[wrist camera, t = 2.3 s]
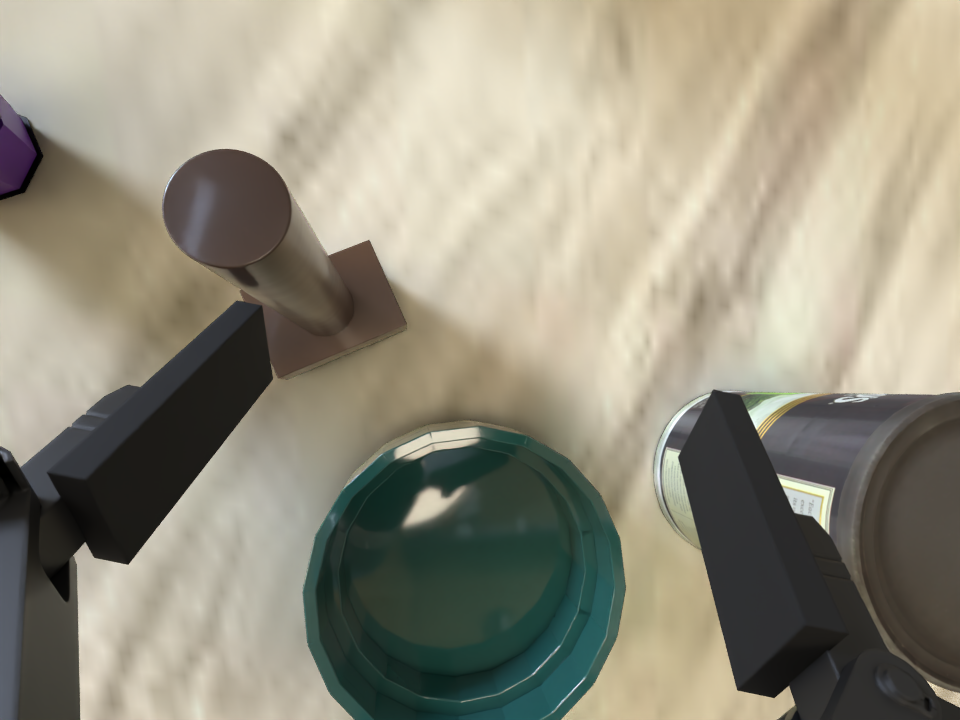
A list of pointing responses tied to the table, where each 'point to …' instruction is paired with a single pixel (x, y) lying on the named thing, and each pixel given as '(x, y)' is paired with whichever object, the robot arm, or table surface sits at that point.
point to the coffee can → (863, 502)
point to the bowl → (464, 580)
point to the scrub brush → (278, 260)
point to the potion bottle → (16, 152)
